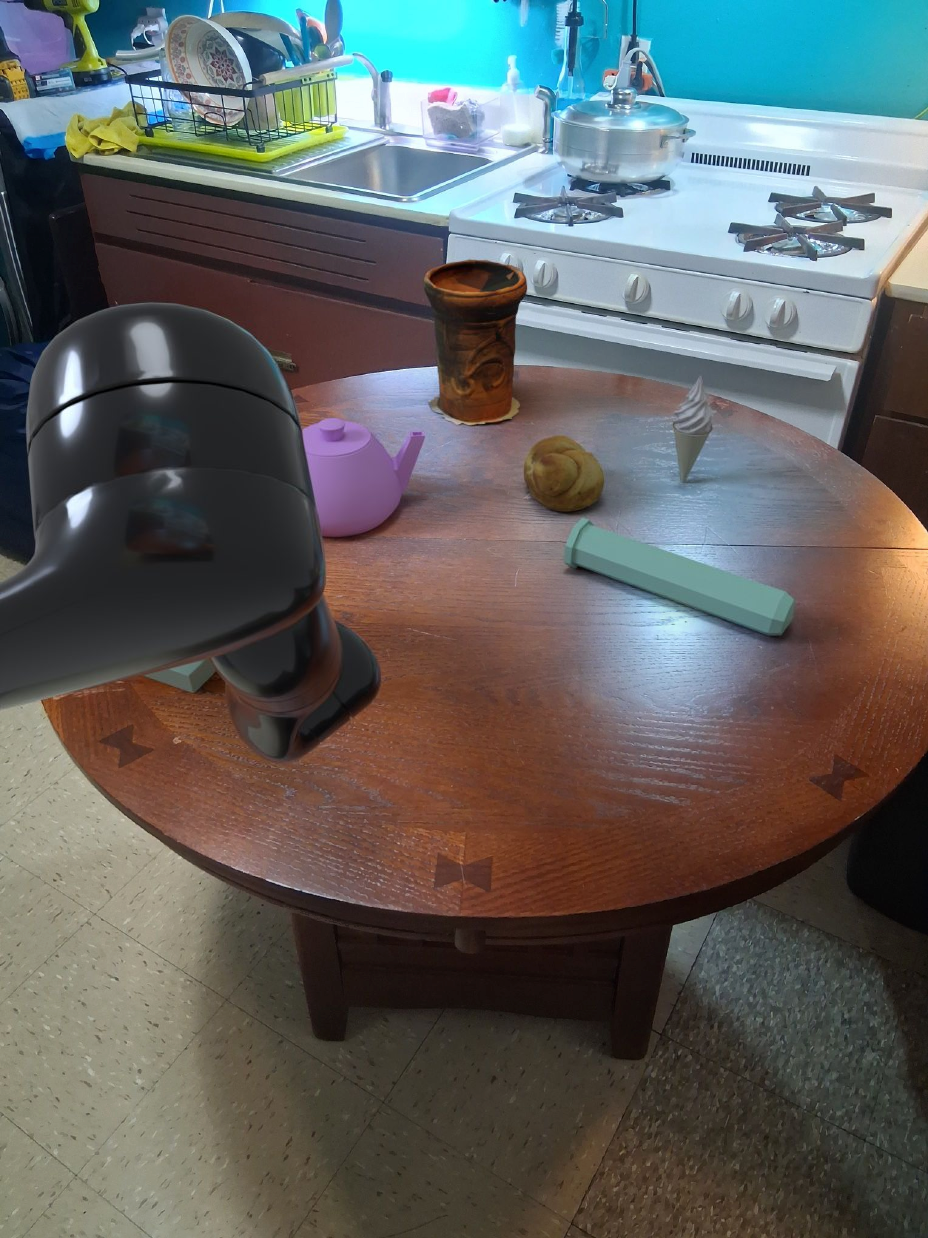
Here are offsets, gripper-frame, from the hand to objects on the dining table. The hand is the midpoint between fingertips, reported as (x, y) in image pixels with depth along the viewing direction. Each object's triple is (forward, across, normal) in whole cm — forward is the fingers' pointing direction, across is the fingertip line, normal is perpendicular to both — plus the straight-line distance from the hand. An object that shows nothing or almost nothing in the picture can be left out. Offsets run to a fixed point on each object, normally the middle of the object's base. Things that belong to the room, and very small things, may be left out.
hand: (140, 491), depth 81 cm
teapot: (+11, -26, +17) cm, 33 cm away
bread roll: (-2, -51, +18) cm, 54 cm away
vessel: (+25, -56, +17) cm, 64 cm away
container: (-26, -47, +18) cm, 56 cm away
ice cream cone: (-9, -66, +18) cm, 69 cm away
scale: (-1, 0, +17) cm, 17 cm away
